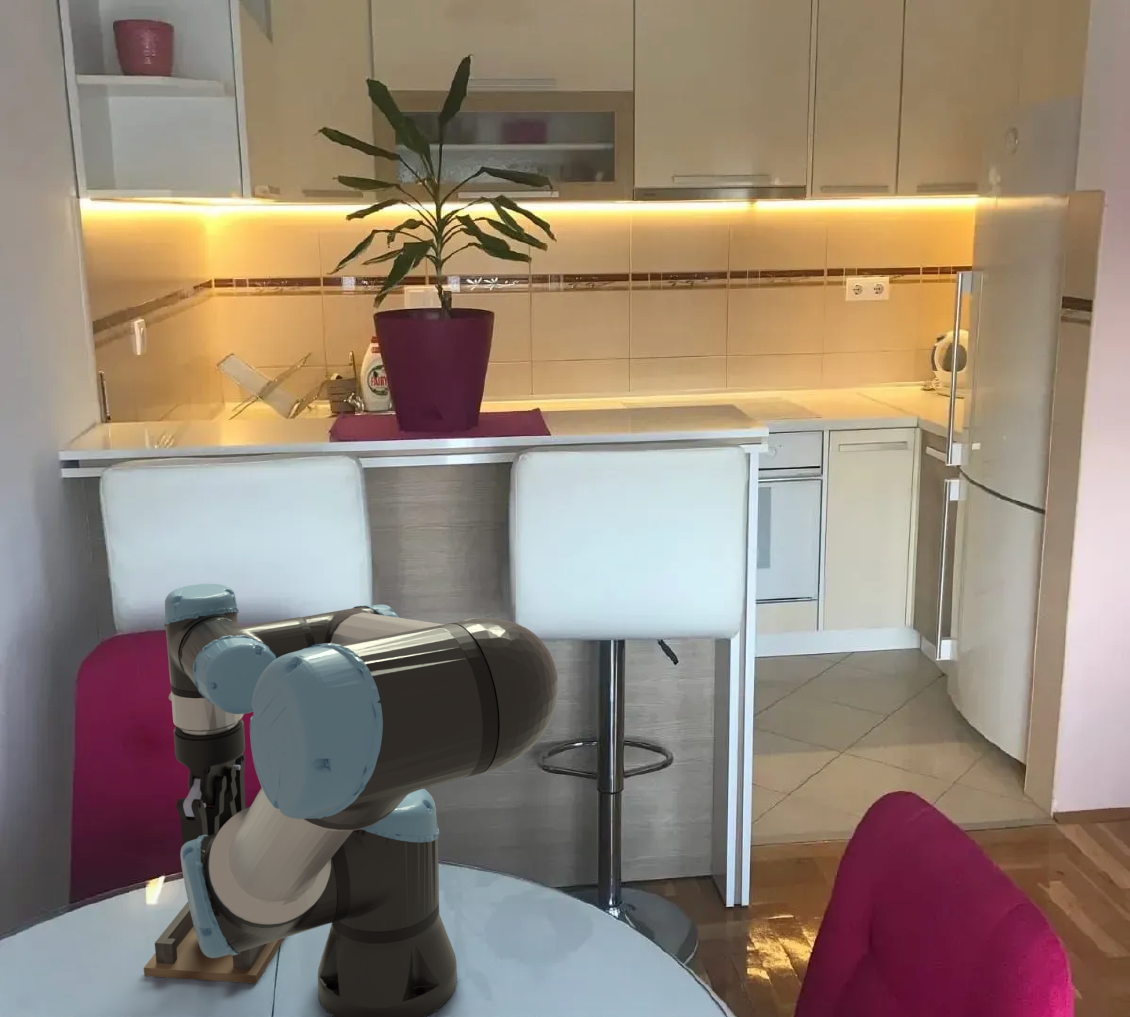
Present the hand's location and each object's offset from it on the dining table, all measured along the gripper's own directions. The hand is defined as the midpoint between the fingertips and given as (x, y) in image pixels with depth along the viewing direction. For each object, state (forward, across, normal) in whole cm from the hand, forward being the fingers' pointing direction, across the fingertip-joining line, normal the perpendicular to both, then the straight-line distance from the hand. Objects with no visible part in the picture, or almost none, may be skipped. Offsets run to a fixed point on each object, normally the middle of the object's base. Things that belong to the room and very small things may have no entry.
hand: (221, 911), depth 130 cm
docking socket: (+4, 0, 0) cm, 4 cm away
